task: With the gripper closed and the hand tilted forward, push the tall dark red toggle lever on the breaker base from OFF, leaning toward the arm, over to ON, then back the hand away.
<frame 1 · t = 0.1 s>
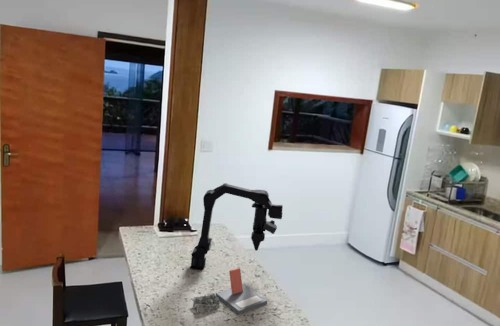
hand: (256, 246, 196), 15 cm above the counter, tool pointing down, fingers open, 9 cm apart
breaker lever: (236, 281, 176), point 6 cm above the counter, hinge at -20.0°
grey lumpy stone piece: (205, 307, 166), on the counter
breaker base: (236, 296, 176), on the counter
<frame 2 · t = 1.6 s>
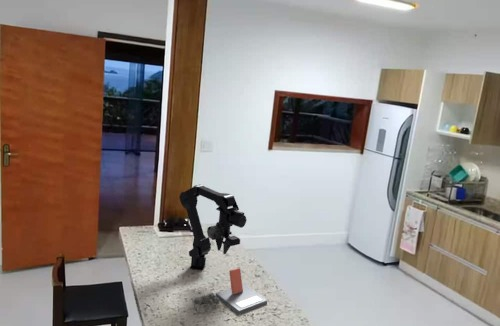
hand: (221, 252, 189), 13 cm above the counter, tool pointing down, fingers open, 4 cm apart
nothing on the counter moved.
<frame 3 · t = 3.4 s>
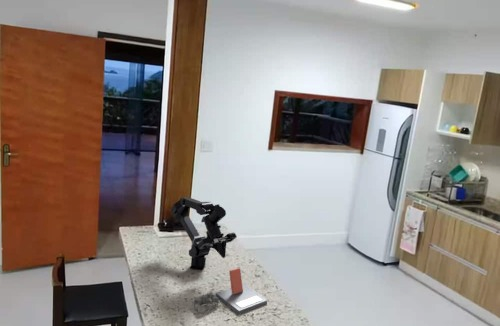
hand: (224, 257, 182), 14 cm above the counter, tool tilted 45°, fingers closed
nothing on the counter moved.
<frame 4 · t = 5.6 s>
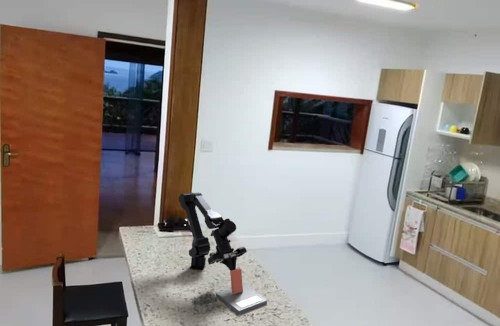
hand: (234, 273, 177), 10 cm above the counter, tool tilted 45°, fingers closed, pressing on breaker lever
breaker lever: (236, 281, 176), point 7 cm above the counter, hinge at -15.9°, touching gripper
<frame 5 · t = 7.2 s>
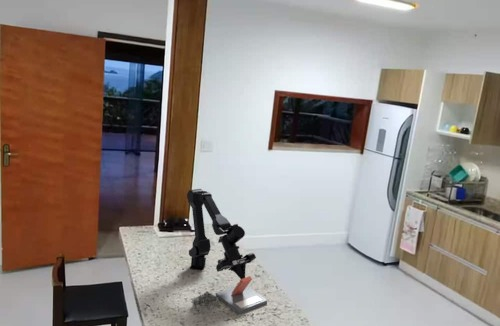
hand: (243, 280, 172), 9 cm above the counter, tool tilted 45°, fingers closed, pressing on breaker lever
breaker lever: (241, 286, 173), point 6 cm above the counter, hinge at 29.4°, touching gripper
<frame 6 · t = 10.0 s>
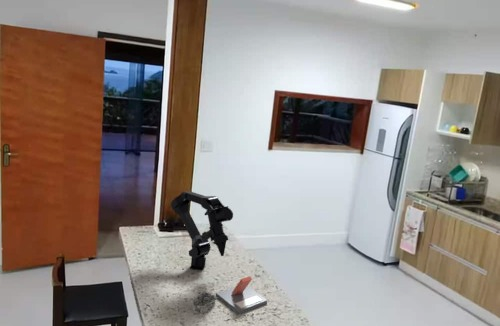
hand: (222, 256, 186), 12 cm above the counter, tool tilted 25°, fingers closed
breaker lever: (241, 286, 173), point 6 cm above the counter, hinge at 29.5°
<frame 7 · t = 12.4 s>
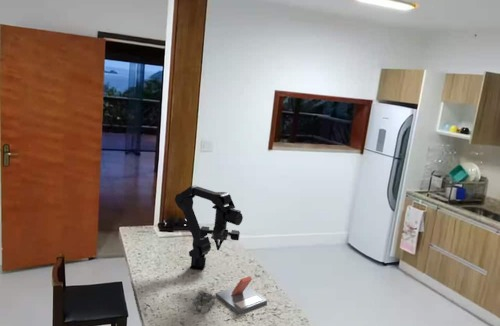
hand: (218, 249, 191), 13 cm above the counter, tool pointing down, fingers closed
at the end: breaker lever at +30° (first picture: -20°); grey lumpy stone piece moved 1.7 cm from its start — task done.
